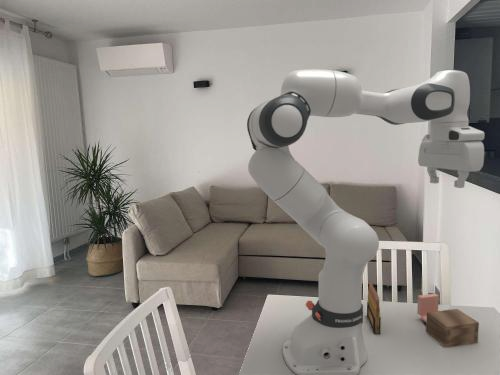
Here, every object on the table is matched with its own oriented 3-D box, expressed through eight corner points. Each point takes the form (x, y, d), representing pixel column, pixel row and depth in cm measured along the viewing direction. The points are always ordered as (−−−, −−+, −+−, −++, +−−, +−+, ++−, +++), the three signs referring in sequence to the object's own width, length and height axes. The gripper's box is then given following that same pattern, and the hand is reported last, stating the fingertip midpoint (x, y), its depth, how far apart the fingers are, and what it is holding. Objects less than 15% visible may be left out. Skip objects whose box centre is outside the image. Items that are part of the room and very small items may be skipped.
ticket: (448, 339, 96) (449, 317, 96) (417, 315, 110) (418, 295, 109) (467, 336, 97) (468, 314, 96) (434, 313, 111) (435, 293, 110)
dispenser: (445, 347, 95) (446, 326, 94) (426, 331, 103) (426, 312, 102) (477, 342, 96) (478, 322, 96) (456, 327, 104) (457, 308, 103)
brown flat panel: (366, 315, 113) (367, 280, 111) (372, 316, 113) (373, 280, 111) (373, 334, 102) (374, 295, 101) (380, 334, 102) (381, 296, 100)
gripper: (413, 134, 102) (411, 181, 104) (467, 133, 82) (464, 191, 84) (432, 134, 103) (430, 180, 105) (490, 132, 83) (487, 189, 85)
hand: (446, 185), depth 94 cm, fingers open, 8 cm apart
